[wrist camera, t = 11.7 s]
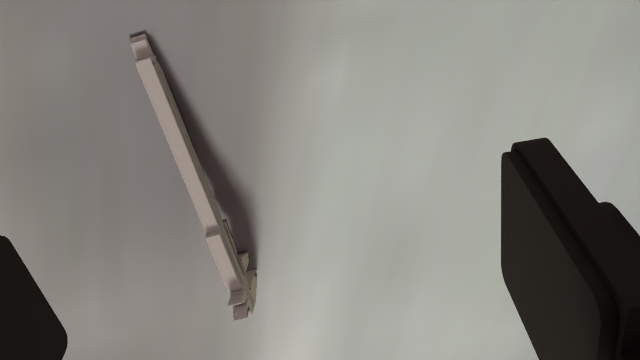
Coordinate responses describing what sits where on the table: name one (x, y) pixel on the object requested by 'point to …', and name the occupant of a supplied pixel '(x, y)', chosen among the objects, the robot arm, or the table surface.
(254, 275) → the caliper
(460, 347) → the table surface
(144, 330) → the table surface
